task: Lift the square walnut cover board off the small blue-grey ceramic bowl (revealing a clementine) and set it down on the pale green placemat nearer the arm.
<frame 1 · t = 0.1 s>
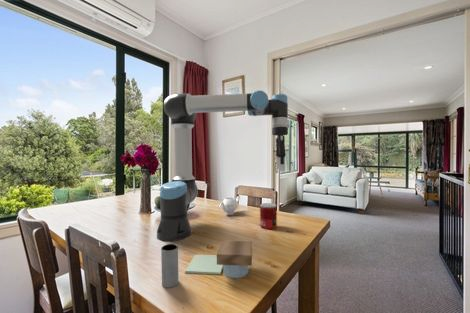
hand: (280, 170, 108), 28 cm above the table, fingers open, 13 cm apart
teapot: (230, 213, 134), on the table
grey cylinder: (170, 283, 62), on the table
bowl: (236, 271, 68), on the table
mat: (206, 264, 72), on the table
canned food: (268, 227, 108), on the table
cover: (235, 257, 68), point 4 cm above the table, touching bowl
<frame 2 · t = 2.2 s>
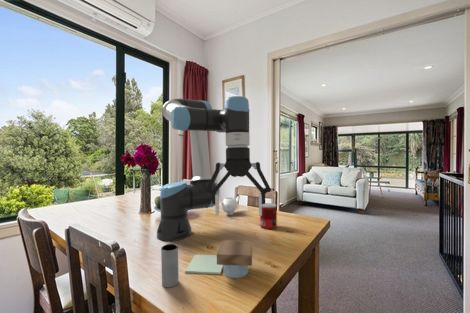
hand: (238, 214, 69), 17 cm above the table, fingers open, 13 cm apart
nothing on the table moved.
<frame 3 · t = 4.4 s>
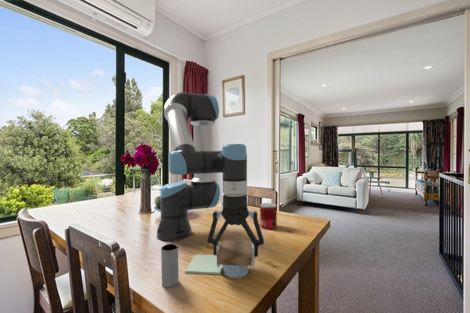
hand: (235, 265, 68), 2 cm above the table, fingers closed on cover, 10 cm apart
cover: (235, 257, 68), point 5 cm above the table, touching bowl, gripper
everything else where it was.
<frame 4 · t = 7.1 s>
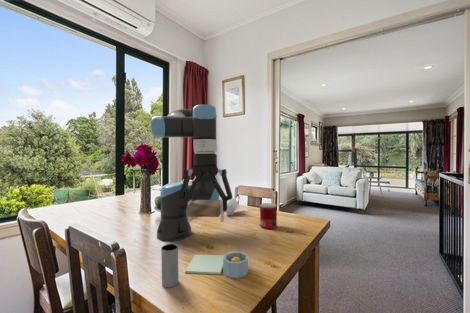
hand: (206, 220, 72), 15 cm above the table, fingers closed on cover, 10 cm apart
cover: (206, 212, 72), point 17 cm above the table, touching gripper
everything else where it was.
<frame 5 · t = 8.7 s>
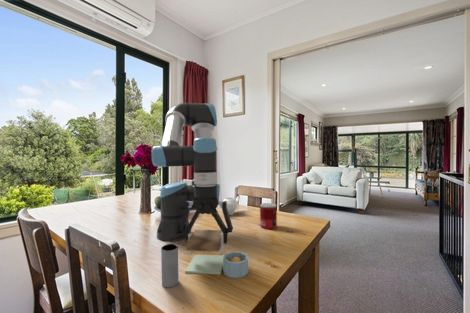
hand: (206, 252, 72), 4 cm above the table, fingers closed on cover, 10 cm apart
cover: (206, 244, 72), point 7 cm above the table, touching gripper
everything else where it was.
when the fingers open (1 cm above the table, at t = 10.0 s): cover drops 3 cm, resting on mat.
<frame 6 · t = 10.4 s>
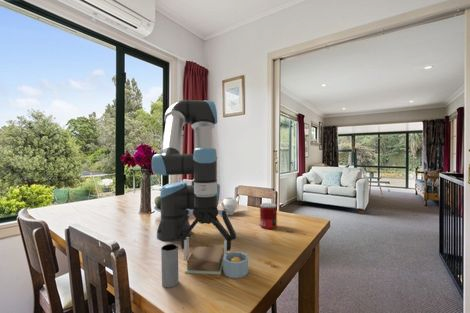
hand: (206, 259, 72), 2 cm above the table, fingers open, 13 cm apart
cover: (206, 262, 72), point 1 cm above the table, touching mat
everything else where it was.
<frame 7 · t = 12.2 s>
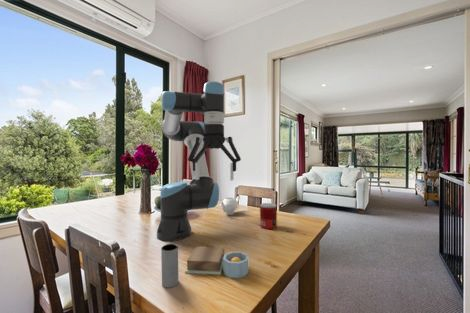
hand: (214, 179, 84), 26 cm above the table, fingers open, 13 cm apart
nothing on the table moved.
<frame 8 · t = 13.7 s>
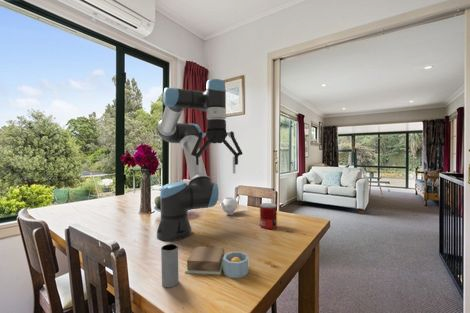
hand: (217, 173, 87), 29 cm above the table, fingers open, 13 cm apart
nothing on the table moved.
at the end: cover inside the target area on the mat (0.0 cm from its centre), point 0.6 cm above the mat's base; cover touching mat; cover tilted 0° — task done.
